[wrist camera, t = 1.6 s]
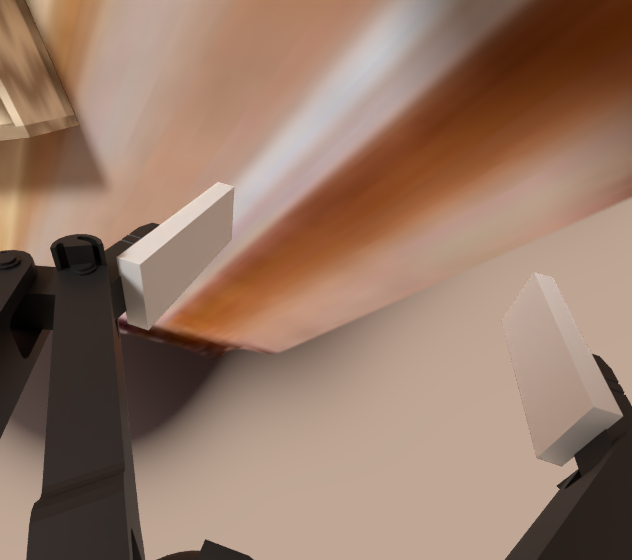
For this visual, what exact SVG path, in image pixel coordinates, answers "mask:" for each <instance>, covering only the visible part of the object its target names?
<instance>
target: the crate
mask: <svg viewBox="0 0 632 560" xmlns="http://www.w3.org/2000/svg"><path fill="white" fill-rule="evenodd" d="M78 125H79V123H78V121H77V119H76V116H75V114H74V112H73V110H72V107H71V105H70V103H69V100H68V98H67V96H66V93H65V91H64V89H63V87H62V84H61V82H60V80H59V77H58V75H57V73H56V70H55V68H54V66H53V63H52V61H51V59H50V57H49V54H48V52H47V50H46V47H45V45H44V43H43V40H42V38H41V36H40V34H39V31H38V29H37V27H36V24H35V22H34V20H33V17H32V15H31V13H30V11H29V8H28V6H27V4H26V1H25V0H0V141H2V140H11V139H20V138H30V137H34V136H38V135H42V134H46V133H50V132H54V131H58V130H62V129H66V128H70V127H74V126H78Z"/></svg>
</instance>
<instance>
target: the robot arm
mask: <svg viewBox="0 0 632 560" xmlns="http://www.w3.org/2000/svg"><path fill="white" fill-rule="evenodd" d="M233 200H234V186H230V185H227V184H223V183H220V182H217V183H216V184H215V185H213V186H212V187H211V188H209V189H208V190H207V191H205V192H204V193H203V194H201V195H200V196H199V197H197V198H196V199H194V200H193V201H192V202H190V203H189V204H188V205H186V206H185V207H184V208H182V209H181V210H180V211H178V212H177V213H176V214H174V215H173V216H172V217H170V218H169V219H167V220H166V221H165V222H163V223H162V224H161V225H159V224H155V223H150V224H147V225H144V226H141V227H139V228H137V229H136V230H134V231H133V232H131V233H130V235H127V236H126V237H124V238H123V239H122V241H118V242H117V243H116V244H114V245H113V246H111V247H110V248H108V249H107V250H105V251H104V247H103V243H102V241H101V239H99V238H97V237H96V236H92V235H87V234H75V235H69V236H65V237H63V238H60V239H58V240H56V241H55V242H54V243H52V245H51V247H50V249H51V253H52V256H53V259H54V263H55V266H56V267H47V266H35V264H34V261H33V258H32V257H31V255H30V254H28V253H26V252H24V251H18V250H8V251H7V250H6V251H1V252H0V438H1V436H2V434H3V432H4V429H5V427H6V425H7V423H8V421H9V418H10V416H11V414H12V412H13V410H14V408H15V406H16V404H17V402H18V399H19V397H20V395H21V393H22V391H23V389H24V386H25V384H26V382H27V380H28V378H29V375H30V374H31V371H32V369H33V367H34V365H35V363H36V361H37V358H38V356H39V354H40V352H41V350H42V348H43V346H44V343H45V341H46V339H47V337H48V335H49V333H50V330H53V338H52V352H51V367H50V382H49V398H48V411H47V426H46V441H45V455H44V471H43V485H42V494H41V497H40V499H39V500H38V501H37V502H35V503H34V506H33V508H32V511H31V517H30V524H29V534H28V546H27V558H26V560H145V554H144V547H143V540H142V534H141V527H140V521H139V512H138V502H137V492H136V483H135V473H134V464H133V454H132V445H131V436H130V426H129V417H128V407H127V397H126V388H125V378H124V369H123V359H122V350H121V340H120V331H119V323H118V318H119V317H120V316H121V315H122V314H123V313H124V312H125V311H126V315H127V321H128V324H131V325H134V326H137V327H140V328H143V329H146V330H149V329H150V328H151V327H152V326H153V325H154V324H155V322H156V321H157V320H158V319H159V318H160V317H161V316H162V315H163V314H164V313H165V312H166V310H167V309H168V308H169V307H170V306H171V305H172V304H173V303H174V302H175V301H176V300H177V298H178V297H179V296H180V295H181V294H182V293H183V292H184V291H185V290H186V289H187V288H188V286H189V285H190V284H191V283H192V282H193V281H194V280H195V279H196V278H197V277H198V276H199V275H200V273H201V272H202V271H203V270H204V269H205V268H206V267H207V266H208V265H209V264H210V263H211V261H212V260H213V259H214V258H215V257H216V256H217V255H218V254H219V253H220V252H221V251H222V249H223V248H224V247H225V246H226V245H227V244H228V243H229V242H230V241H231V239H232V220H233ZM501 321H502V325H503V329H504V333H505V337H506V341H507V345H508V348H509V352H510V356H511V360H512V364H513V368H514V372H515V376H516V380H517V383H518V387H519V391H520V395H521V399H522V403H523V407H524V411H525V415H526V418H527V422H528V426H529V430H530V434H531V438H532V442H533V446H534V449H535V453H536V457H537V458H538V459H541V460H544V461H547V462H550V463H553V464H556V465H559V466H563V465H564V464H565V463H567V462H568V461H569V460H570V459H571V458H573V457H575V460H576V462H577V465H578V468H579V469H578V470H576V471H575V472H574V473H573V474H571V475H570V476H569V477H568V478H566V479H565V480H564V481H562V482H561V483H560V484H558V485H557V487H558V488H559V489H560V490H559V491H558V492H557V494H556V495H555V496H554V497H553V499H552V500H551V501H550V502H549V504H548V505H547V506H546V508H545V509H544V510H543V511H542V513H541V514H540V515H539V517H538V518H537V519H536V520H535V522H534V523H533V524H532V526H531V527H530V528H529V529H528V531H527V532H526V533H525V534H524V536H523V537H522V539H521V540H520V541H519V542H518V543H517V545H516V546H515V547H514V549H513V550H512V551H511V552H510V554H509V555H508V556H507V558H506V559H505V560H632V406H631V404H630V402H629V400H628V398H627V397H626V395H624V391H623V389H622V387H621V386H620V385H619V384H618V380H617V378H616V377H615V375H614V373H613V371H612V369H611V368H610V367H609V366H608V365H607V364H606V363H605V362H604V361H603V360H602V358H601V357H600V356H597V355H594V354H592V353H591V352H590V350H589V348H588V346H587V344H586V342H585V340H584V338H583V336H582V334H581V332H580V330H579V328H578V326H577V324H576V322H575V320H574V318H573V316H572V314H571V312H570V310H569V308H568V306H567V305H566V302H565V300H564V299H563V296H562V295H561V293H560V291H559V289H558V287H557V285H556V283H555V281H554V279H553V277H549V276H546V275H542V274H539V273H535V272H534V273H533V274H532V276H531V277H530V279H529V280H528V282H527V283H526V285H525V286H524V288H523V289H522V291H521V292H520V293H519V295H518V297H517V298H516V299H515V301H514V302H513V304H512V305H511V307H510V308H509V310H508V311H507V313H506V314H505V316H504V317H503V319H502V320H501ZM157 560H253V559H252V558H251V557H250V556H248V555H245V554H242V553H240V552H237V551H235V550H232V549H229V548H227V547H224V546H221V545H219V544H216V543H213V542H211V541H208V540H205V541H204V544H203V546H202V549H201V551H184V552H178V553H175V554H171V555H167V556H165V557H162V558H160V559H157Z"/></svg>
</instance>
